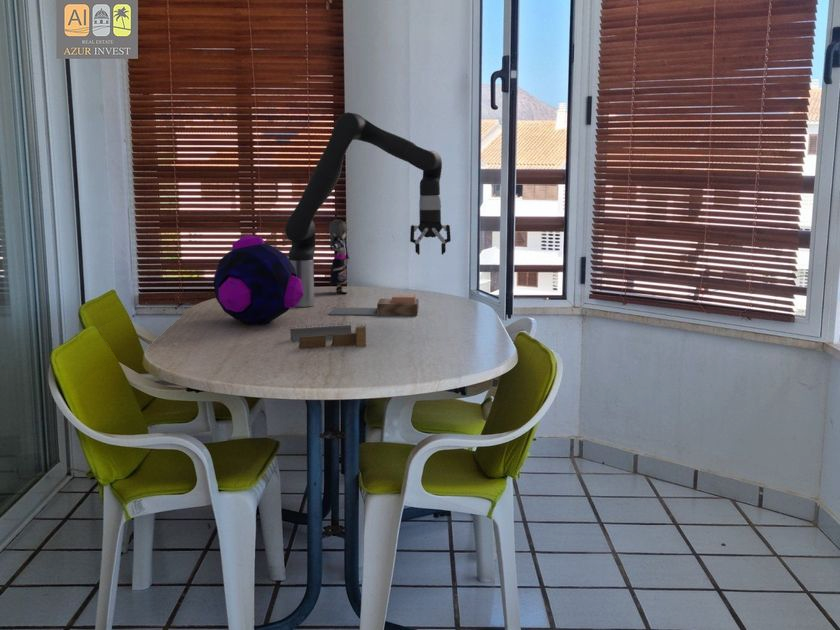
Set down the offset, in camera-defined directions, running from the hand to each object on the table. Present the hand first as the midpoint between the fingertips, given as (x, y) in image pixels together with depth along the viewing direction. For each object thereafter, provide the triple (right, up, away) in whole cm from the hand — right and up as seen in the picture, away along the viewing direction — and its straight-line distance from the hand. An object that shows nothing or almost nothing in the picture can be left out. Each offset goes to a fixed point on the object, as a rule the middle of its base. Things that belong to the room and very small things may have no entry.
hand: (430, 254), depth 321 cm
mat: (-28, -20, +4) cm, 35 cm away
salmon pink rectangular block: (-10, -17, +3) cm, 19 cm away
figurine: (-37, -13, +45) cm, 60 cm away
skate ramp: (-30, -32, -54) cm, 69 cm away
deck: (-12, -21, +4) cm, 24 cm away
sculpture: (-59, -24, -18) cm, 66 cm away
